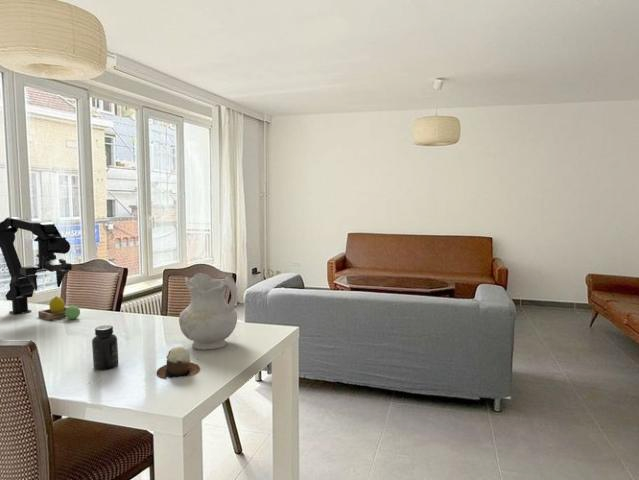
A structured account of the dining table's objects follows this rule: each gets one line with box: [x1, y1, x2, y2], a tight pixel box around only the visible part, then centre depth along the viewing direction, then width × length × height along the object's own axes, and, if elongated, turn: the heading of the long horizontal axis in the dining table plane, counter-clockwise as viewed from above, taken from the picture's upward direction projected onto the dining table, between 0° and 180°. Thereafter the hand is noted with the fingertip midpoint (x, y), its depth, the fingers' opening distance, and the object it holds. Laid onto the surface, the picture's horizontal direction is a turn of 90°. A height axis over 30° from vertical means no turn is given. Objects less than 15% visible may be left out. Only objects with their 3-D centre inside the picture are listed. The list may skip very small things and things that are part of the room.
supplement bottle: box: [91, 325, 119, 371], centre depth 135 cm, size 7×7×12 cm
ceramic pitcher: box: [178, 272, 238, 351], centre depth 155 cm, size 22×20×25 cm
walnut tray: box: [38, 306, 69, 321], centre depth 194 cm, size 11×11×2 cm
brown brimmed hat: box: [156, 346, 201, 380], centre depth 132 cm, size 12×10×10 cm
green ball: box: [65, 305, 81, 320], centre depth 189 cm, size 6×6×6 cm
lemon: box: [49, 296, 66, 313], centre depth 193 cm, size 6×6×8 cm
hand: (47, 288), depth 194 cm, fingers open, 9 cm apart
